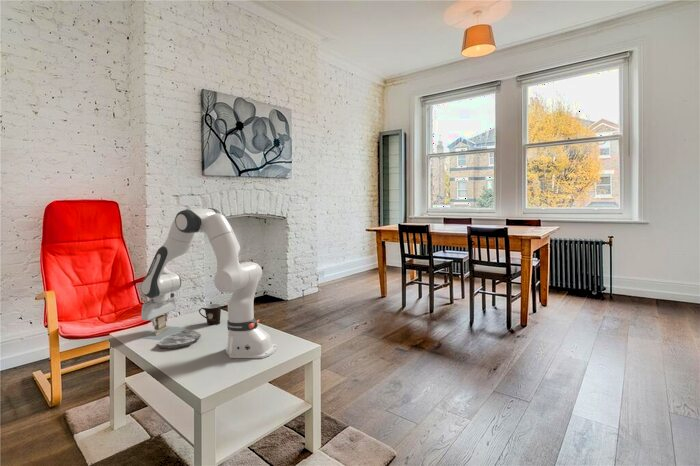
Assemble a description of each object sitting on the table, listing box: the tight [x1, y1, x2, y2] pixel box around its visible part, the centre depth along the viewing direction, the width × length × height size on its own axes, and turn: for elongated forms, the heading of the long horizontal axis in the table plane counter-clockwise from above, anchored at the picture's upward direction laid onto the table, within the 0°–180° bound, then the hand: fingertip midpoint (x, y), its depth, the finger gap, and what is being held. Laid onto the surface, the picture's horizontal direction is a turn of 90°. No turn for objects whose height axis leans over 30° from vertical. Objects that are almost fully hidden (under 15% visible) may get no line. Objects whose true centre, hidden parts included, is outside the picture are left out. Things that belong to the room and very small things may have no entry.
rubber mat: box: [138, 325, 187, 341], centre depth 189 cm, size 14×18×1 cm
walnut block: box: [153, 314, 167, 331], centre depth 189 cm, size 2×6×6 cm, turn 166°
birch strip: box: [155, 328, 169, 336], centre depth 189 cm, size 1×9×1 cm, turn 166°
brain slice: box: [156, 329, 202, 350], centre depth 176 cm, size 20×17×3 cm
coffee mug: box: [198, 303, 222, 326], centre depth 203 cm, size 12×9×10 cm
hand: (160, 323), depth 189 cm, fingers closed on walnut block, 5 cm apart
